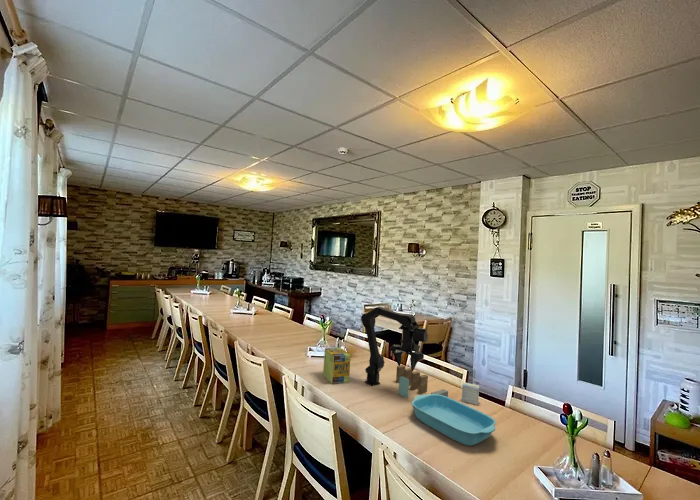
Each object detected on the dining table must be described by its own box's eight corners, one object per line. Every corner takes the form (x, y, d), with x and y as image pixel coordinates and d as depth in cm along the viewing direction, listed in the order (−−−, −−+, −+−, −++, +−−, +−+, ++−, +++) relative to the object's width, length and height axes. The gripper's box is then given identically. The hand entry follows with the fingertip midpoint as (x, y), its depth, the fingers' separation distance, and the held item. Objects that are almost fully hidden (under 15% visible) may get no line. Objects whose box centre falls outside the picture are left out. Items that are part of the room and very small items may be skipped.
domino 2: (411, 385, 179) (412, 369, 179) (405, 386, 176) (406, 370, 176) (409, 383, 181) (409, 368, 181) (402, 385, 178) (403, 369, 178)
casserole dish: (401, 414, 144) (402, 399, 144) (432, 403, 158) (433, 389, 158) (476, 458, 115) (477, 438, 115) (506, 440, 129) (507, 422, 129)
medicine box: (478, 402, 163) (479, 385, 163) (478, 405, 159) (479, 388, 159) (462, 398, 166) (463, 381, 166) (461, 401, 162) (462, 384, 162)
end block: (435, 404, 157) (435, 395, 157) (430, 401, 159) (430, 392, 159) (447, 400, 163) (448, 391, 163) (442, 397, 165) (443, 389, 165)
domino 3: (419, 388, 175) (420, 372, 175) (412, 390, 172) (413, 373, 172) (416, 387, 176) (417, 371, 177) (410, 389, 173) (411, 372, 174)
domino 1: (404, 381, 184) (405, 366, 184) (398, 383, 181) (399, 367, 181) (402, 380, 185) (403, 365, 185) (395, 382, 182) (396, 366, 183)
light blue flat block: (405, 397, 162) (406, 380, 162) (398, 394, 166) (399, 376, 166) (408, 396, 163) (409, 379, 163) (401, 393, 167) (402, 376, 167)
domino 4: (426, 392, 170) (427, 375, 171) (420, 394, 167) (421, 377, 168) (424, 391, 172) (425, 374, 172) (417, 392, 169) (418, 376, 169)
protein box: (331, 384, 172) (333, 356, 173) (322, 374, 186) (324, 348, 187) (349, 382, 177) (351, 354, 177) (339, 372, 191) (340, 347, 191)
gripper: (431, 341, 166) (429, 371, 165) (404, 333, 180) (402, 360, 180) (417, 343, 159) (415, 375, 158) (390, 335, 173) (388, 363, 173)
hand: (405, 368), depth 167 cm, fingers open, 9 cm apart
